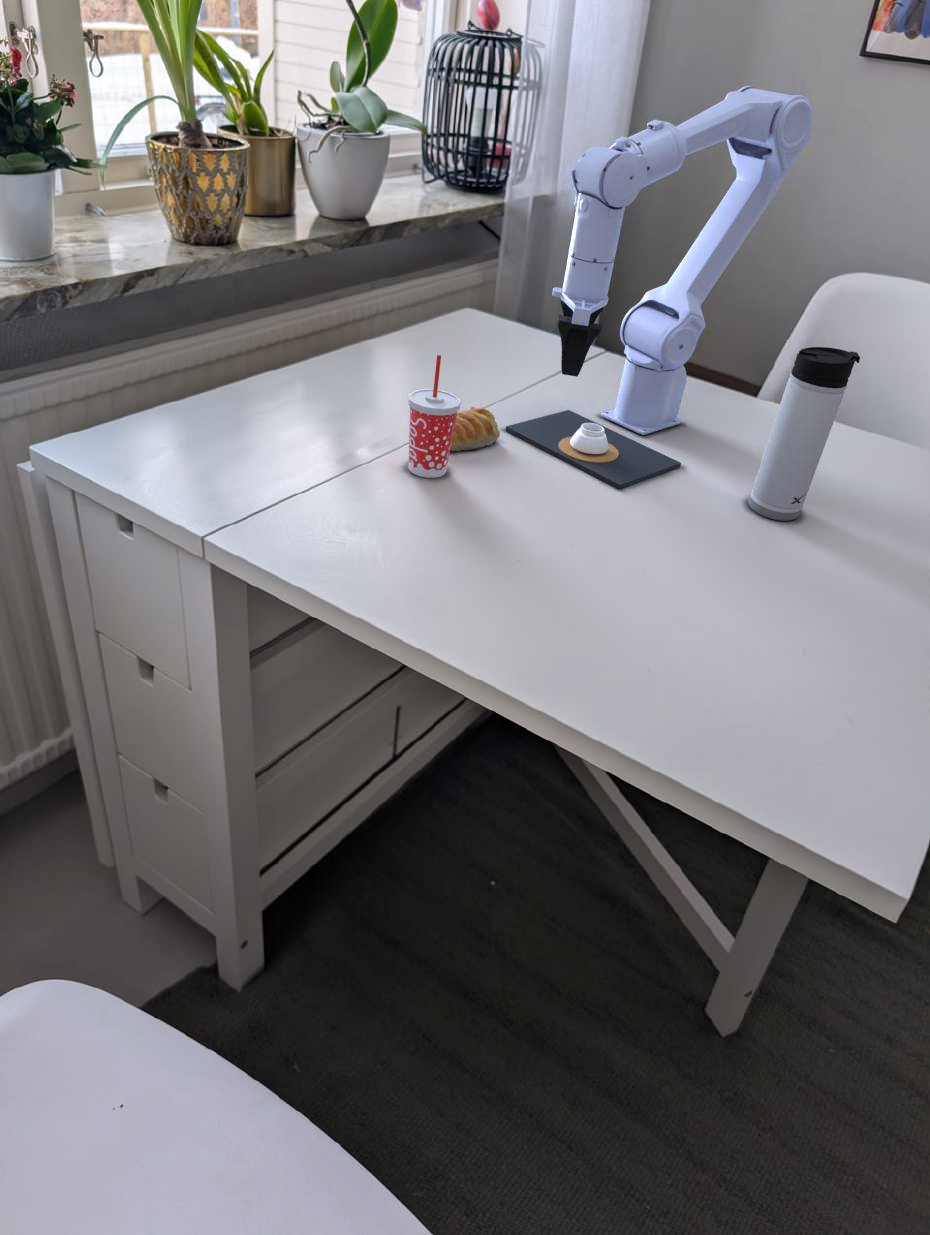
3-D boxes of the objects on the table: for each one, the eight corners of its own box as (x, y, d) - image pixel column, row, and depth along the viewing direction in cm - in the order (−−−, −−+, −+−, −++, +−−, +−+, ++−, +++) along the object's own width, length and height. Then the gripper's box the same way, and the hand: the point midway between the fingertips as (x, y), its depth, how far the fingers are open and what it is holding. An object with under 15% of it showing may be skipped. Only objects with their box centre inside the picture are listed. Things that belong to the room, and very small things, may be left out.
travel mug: (804, 526, 108) (865, 363, 96) (749, 515, 108) (803, 352, 97) (798, 503, 113) (856, 346, 101) (746, 493, 113) (797, 336, 102)
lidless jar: (585, 437, 120) (561, 445, 117) (589, 417, 119) (565, 424, 115) (614, 451, 117) (591, 459, 114) (619, 430, 116) (596, 438, 113)
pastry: (455, 459, 111) (459, 431, 109) (416, 441, 115) (418, 413, 113) (502, 442, 118) (506, 414, 116) (464, 425, 121) (467, 398, 119)
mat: (567, 413, 129) (569, 408, 129) (680, 466, 118) (681, 461, 117) (505, 430, 121) (505, 424, 121) (619, 489, 110) (620, 483, 110)
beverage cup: (395, 459, 109) (404, 346, 102) (442, 457, 112) (455, 346, 104) (410, 482, 105) (421, 365, 97) (459, 479, 107) (474, 365, 99)
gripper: (562, 240, 116) (544, 344, 124) (556, 265, 104) (537, 378, 112) (615, 249, 116) (595, 352, 123) (616, 274, 104) (593, 387, 111)
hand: (571, 365), depth 118 cm, fingers open, 7 cm apart
